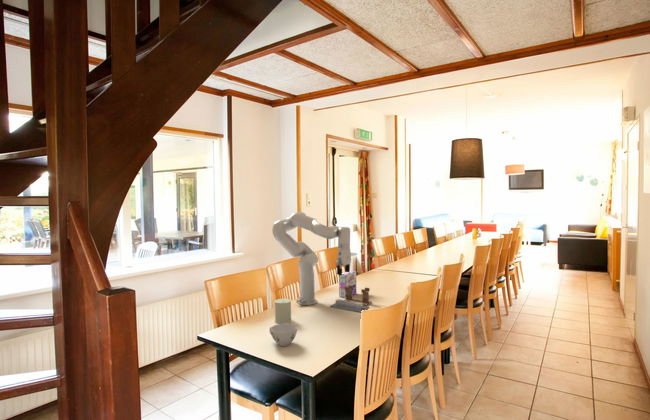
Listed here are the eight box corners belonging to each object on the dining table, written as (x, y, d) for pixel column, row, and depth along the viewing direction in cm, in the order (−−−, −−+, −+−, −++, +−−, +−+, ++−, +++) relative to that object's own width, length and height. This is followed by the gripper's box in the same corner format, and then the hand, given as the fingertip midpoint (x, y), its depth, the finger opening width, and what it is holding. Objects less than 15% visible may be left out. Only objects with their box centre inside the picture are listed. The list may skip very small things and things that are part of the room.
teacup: (302, 341, 174) (302, 325, 174) (286, 351, 163) (286, 334, 163) (278, 335, 182) (277, 320, 181) (261, 344, 171) (261, 328, 171)
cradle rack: (366, 306, 227) (366, 290, 226) (342, 302, 236) (342, 287, 236) (371, 303, 234) (371, 287, 233) (348, 299, 243) (348, 284, 242)
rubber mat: (360, 312, 215) (360, 311, 215) (329, 306, 227) (329, 305, 227) (368, 307, 224) (368, 306, 224) (338, 302, 236) (338, 301, 236)
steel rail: (360, 309, 219) (360, 304, 219) (335, 304, 229) (335, 300, 229) (363, 307, 222) (363, 303, 222) (338, 303, 232) (337, 298, 232)
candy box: (346, 298, 245) (345, 274, 244) (338, 297, 249) (338, 273, 248) (356, 293, 256) (356, 270, 255) (349, 292, 260) (349, 269, 259)
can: (276, 324, 197) (275, 303, 197) (273, 319, 206) (273, 298, 206) (292, 322, 200) (292, 301, 199) (289, 317, 209) (289, 297, 208)
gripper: (341, 248, 218) (341, 276, 219) (355, 245, 233) (355, 271, 233) (331, 247, 222) (331, 275, 223) (345, 244, 237) (345, 270, 238)
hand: (343, 273), depth 228 cm, fingers open, 9 cm apart
